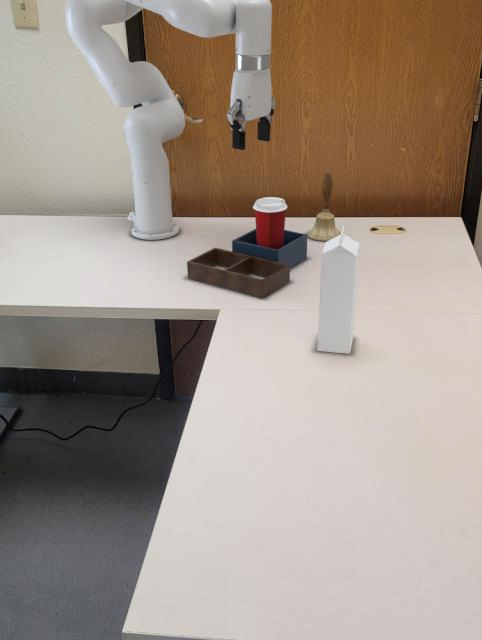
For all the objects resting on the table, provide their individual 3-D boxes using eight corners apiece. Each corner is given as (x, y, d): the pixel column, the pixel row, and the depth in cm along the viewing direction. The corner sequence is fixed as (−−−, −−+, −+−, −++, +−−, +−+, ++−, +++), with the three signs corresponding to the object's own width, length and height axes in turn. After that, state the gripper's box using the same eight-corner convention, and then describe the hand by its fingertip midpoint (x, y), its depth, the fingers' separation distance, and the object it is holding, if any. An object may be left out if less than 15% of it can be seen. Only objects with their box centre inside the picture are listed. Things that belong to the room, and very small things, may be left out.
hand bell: (342, 231, 187) (345, 169, 179) (339, 242, 180) (342, 178, 172) (310, 229, 189) (312, 168, 181) (306, 240, 182) (308, 177, 174)
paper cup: (286, 254, 173) (287, 196, 166) (285, 266, 166) (287, 206, 159) (254, 253, 174) (253, 196, 166) (252, 265, 167) (251, 206, 160)
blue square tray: (232, 265, 169) (231, 240, 166) (262, 248, 178) (262, 225, 175) (278, 276, 163) (278, 250, 160) (306, 258, 171) (307, 234, 168)
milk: (317, 351, 132) (321, 235, 121) (321, 336, 137) (325, 224, 126) (350, 354, 131) (358, 237, 119) (353, 339, 136) (361, 225, 124)
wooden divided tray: (187, 278, 163) (186, 261, 161) (215, 263, 170) (215, 247, 168) (263, 298, 152) (263, 281, 150) (289, 281, 160) (290, 264, 158)
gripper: (261, 56, 162) (259, 135, 171) (214, 66, 151) (215, 150, 160) (289, 59, 159) (286, 139, 168) (243, 69, 147) (242, 155, 156)
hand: (251, 144), depth 164 cm, fingers open, 9 cm apart
